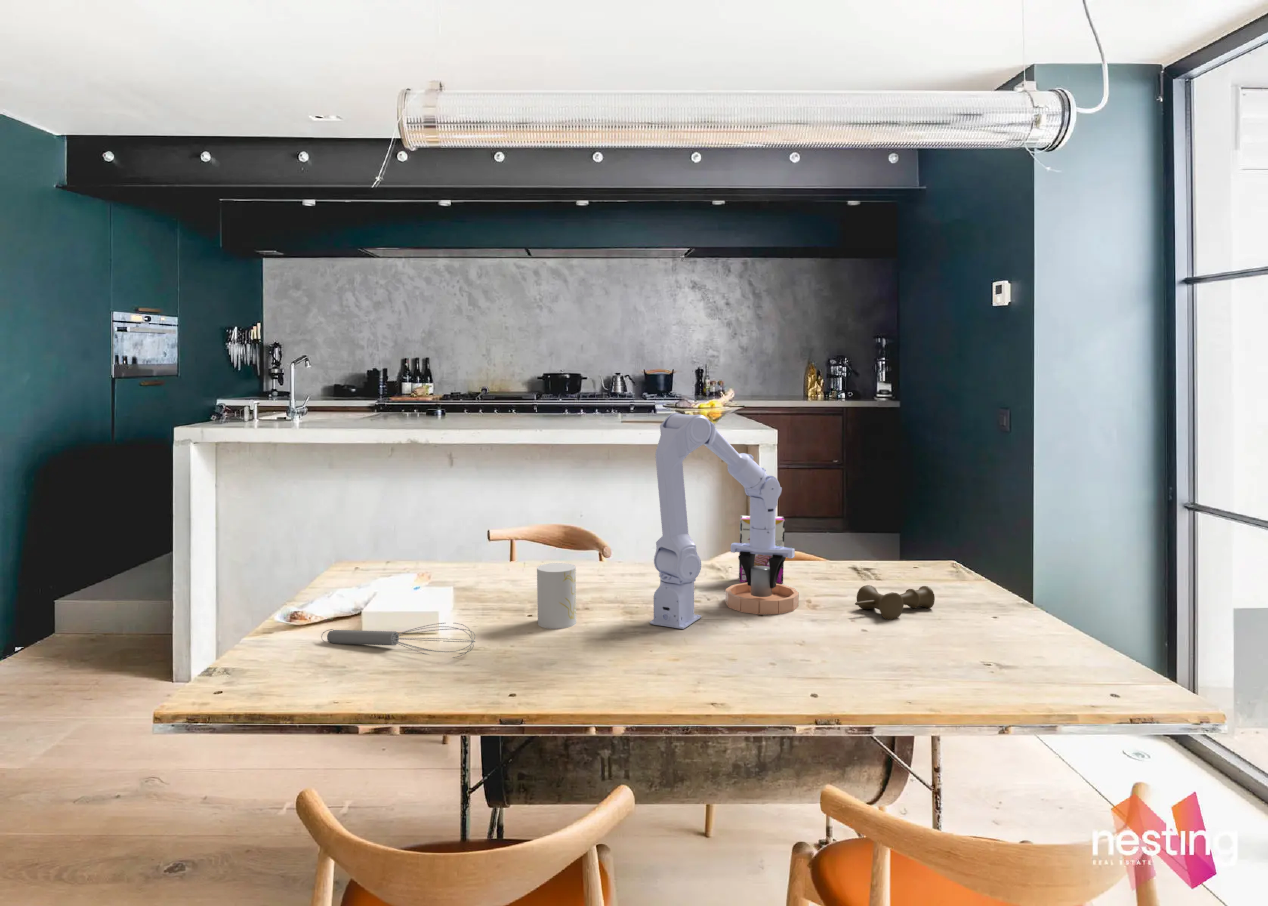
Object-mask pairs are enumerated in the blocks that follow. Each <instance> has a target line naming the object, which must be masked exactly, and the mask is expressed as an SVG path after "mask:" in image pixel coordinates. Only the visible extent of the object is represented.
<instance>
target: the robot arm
mask: <svg viewBox="0 0 1268 906" xmlns="http://www.w3.org/2000/svg"><path fill="white" fill-rule="evenodd" d="M659 429H660V430H659V431H660V432H659V433H660V437H659V439H658V443H657V446H656V448H655V449H656V450H655V465H656V475H657V488H658V498H659V509H660V510H659V511H660V522H661V532H662V535H661V537H660V538H659V539H658V540H657V541H656V542H655V544H656V545H655V548H656V549H655V550H656V551H655V554H654V556H653V565H654V567H655V569H656V571H658V577H659V578H660V579H659V583H660V584H659V587H658V588H657V589H656V590H655V591H654V594H653V619H652V620H649V624H650V625H655V626H662V627H666V628H667V627H668V628H675V629H681V630H684V629H686V628H687V627H689V626H691V625H692V624H693V623H695V622H696V621H698V620H699V619H701V618H702V615H701V614H695V583H696V580H697V579H696V578H698V576H699V575H700V573H701V570H702V560H701V558H700V556H699V554H698V551H697V544H696V543H695V541H694V540H693V539H692V537H691V536H690V534H689V526H688V525H689V524H688V515H687V512H688V511H687V500H686V490H685V488H686V487H685V479H684V478H685V477H684V476H685V475H684V465H683V464H684V463H683V462H684V460H685V459H686V458H687V457H688V456H689V455H690V454H691V453H692V452H693V451H695V450H697V449H698V448H700V447H702V446H705V447H706V448H707V449H708V450H709V451H711V452H712V453H713V454H714V455H716V456H717V457H718V458H719V459H721V461H723V463H726V465H727V473H729V475H730V476H732V478H734V480H736V481H737V482H738V483H739V484H741V486H743V489H744V493H745V495H746V496H748V497H749V516H750V543H740V542H732V543H731V544H730V553H733V554H735V553H739V552H740V555H738V557H737V558H738V562H739V561H740V563H741V564H742V567H743V569H744V572H745V575H746V578H747V582H746V583H748V586H751V567H753V566H754V561H755V554H759V555H769V556H772V557H771V558H769V565H770V588H772V589H773V588H775V587H776V584H777V583H776V582H777V578H778V575H779V572H780V569H781V567H782V565H783V563H785V561H786V558H787V559H793V558H795V557H796V552H795V551H796V548H792V547H786V546H784V547H781V546H776V545H775V517H777V516H776V515H777V512H776V508H777V506H778V501H779V497H780V496H781V495H782V490H783V487H781V485H780V482H779V480H778V478H777V477H775V476H773V475H768V473H767V472H766V471H767V470H766V468H764V467H761V466H760V465H759V464H758V463H757V462H756V461H755V460H754V458H755V457H754V456H753V455H752V454H749V453H746V452H741V453H739V452H738V451H737V450H736V449H735V448H734V446H733V445H731V443H730V442H729V441H728V439H726V437H724V435H722V434H721V432H720V431H719V430H718V429H717V427H716V425H715V423H714V422H712V421H710V420H709V418H707V416H705V415H702V414H685V413H679V412H678V413H677V412H673V413H670V414H669V415H668V416H666V417H665V419H664V420H663V421H662V422H661V424H660V425H659Z"/></svg>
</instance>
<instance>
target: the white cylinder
mask: <svg viewBox="0 0 1268 906" xmlns="http://www.w3.org/2000/svg"><path fill="white" fill-rule="evenodd" d="M576 568H577V566H576V565H575V564H572V563H567V562H549V563H544V564H540V565H538V566H537V567H536V586H537V587H536V589H537V590H536V591H537V592H536V595H537V625H538V626H539V627H541V628H542V629H551V630H556V629H557V630H558V629H567V628H571V627H573V626H575V625H576V624H577V569H576Z"/></svg>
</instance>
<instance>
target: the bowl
mask: <svg viewBox="0 0 1268 906" xmlns="http://www.w3.org/2000/svg"><path fill="white" fill-rule="evenodd" d="M799 595H800V594H799V592H798V590H797V589H796V588H794V587H791V586H789V585H785V584H782V583H776V587H775V588H773V589H772V595H771V596H768V597H756V596H752V595H751V586H748V583H747V582H740V583H736V584H732V585H730V586H729V587H727V588H725V600H724V601H725V604H726V606H727V608H729V609H732V610H734V611H738V612H739V613H744V614H745V613H746V614H754V615H781V614H785V613H791V612H794V611H795V610H796V609H798V608H799V605H800V604H799V602H800V601H799V598H800V597H799Z"/></svg>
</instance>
